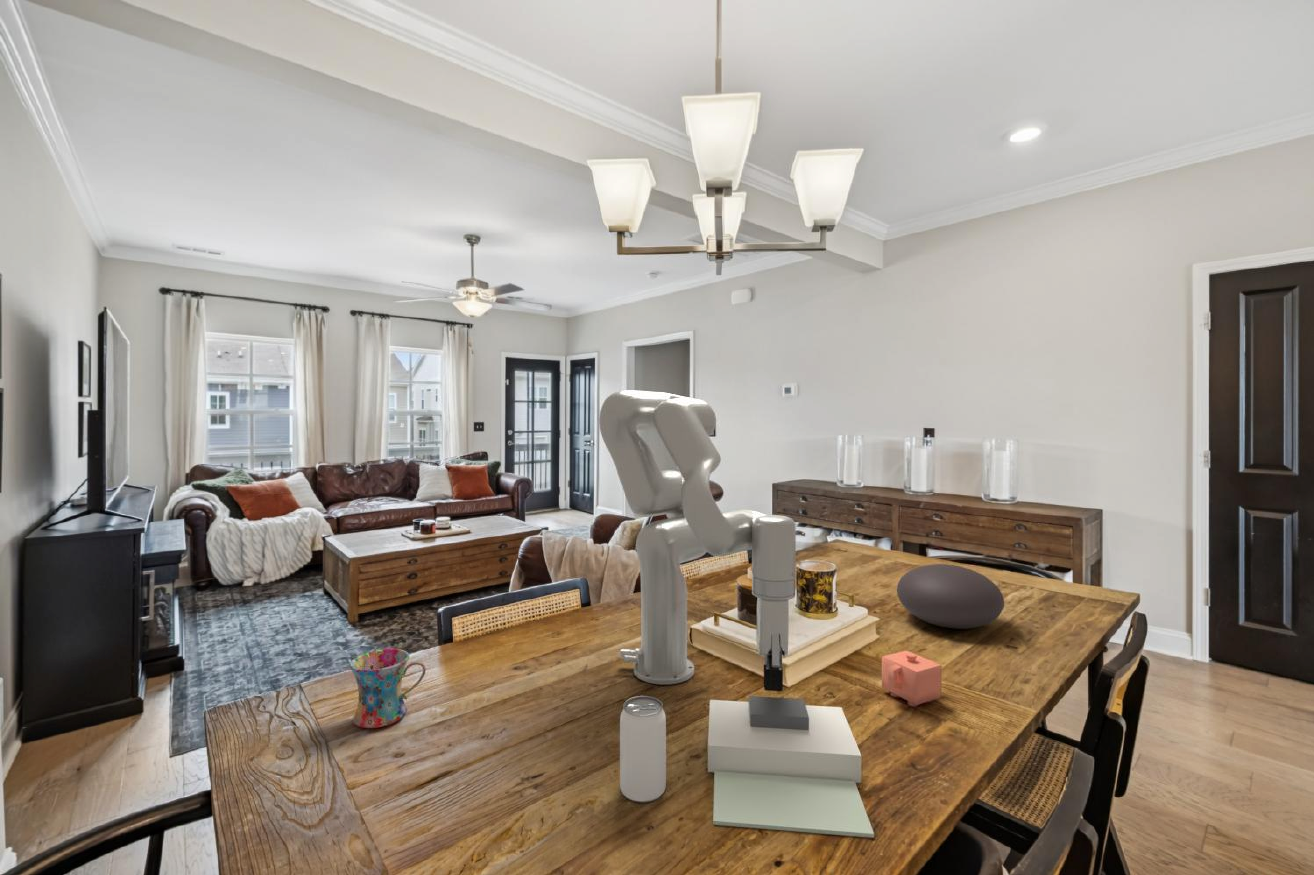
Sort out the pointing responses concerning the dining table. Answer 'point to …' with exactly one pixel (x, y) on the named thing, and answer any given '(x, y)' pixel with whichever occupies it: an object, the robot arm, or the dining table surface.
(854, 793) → the mat
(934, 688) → the pink cube teapot
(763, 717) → the tile
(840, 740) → the plate
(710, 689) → the dining table surface
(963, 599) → the flattened ellipsoid
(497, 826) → the dining table surface
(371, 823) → the dining table surface
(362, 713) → the mug
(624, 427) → the robot arm
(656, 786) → the can
